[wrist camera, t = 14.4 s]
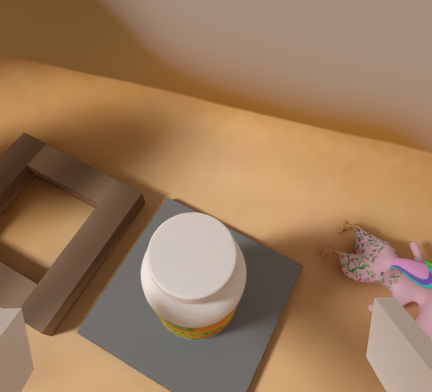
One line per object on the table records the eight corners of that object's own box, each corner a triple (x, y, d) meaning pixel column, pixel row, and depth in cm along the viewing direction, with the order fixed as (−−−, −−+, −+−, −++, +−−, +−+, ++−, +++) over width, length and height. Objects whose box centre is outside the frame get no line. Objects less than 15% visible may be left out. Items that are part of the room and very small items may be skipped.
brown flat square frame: (-73, 257, 27) (-89, 250, 25) (32, 144, 31) (24, 132, 30) (51, 336, 24) (41, 333, 23) (144, 202, 29) (141, 192, 27)
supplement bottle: (151, 339, 24) (120, 314, 15) (159, 257, 26) (137, 195, 18) (236, 343, 24) (254, 319, 15) (237, 260, 26) (253, 200, 18)
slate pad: (79, 333, 25) (76, 332, 24) (168, 200, 29) (167, 197, 28) (229, 427, 22) (229, 428, 22) (300, 268, 27) (302, 265, 26)
